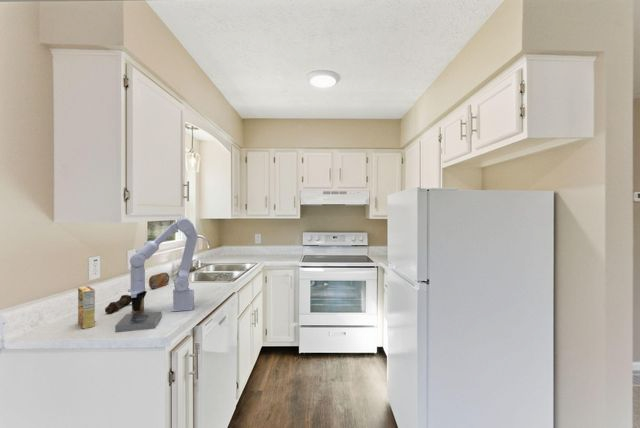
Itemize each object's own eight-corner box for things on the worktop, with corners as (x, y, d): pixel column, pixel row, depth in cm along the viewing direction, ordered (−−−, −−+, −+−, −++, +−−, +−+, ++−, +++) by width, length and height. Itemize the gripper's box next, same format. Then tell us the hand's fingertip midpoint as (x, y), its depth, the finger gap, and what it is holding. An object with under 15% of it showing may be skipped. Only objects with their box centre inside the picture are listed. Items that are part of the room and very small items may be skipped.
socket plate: (161, 316, 141) (161, 311, 141) (154, 328, 127) (154, 322, 127) (126, 320, 137) (126, 314, 136) (115, 332, 123) (115, 325, 123)
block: (144, 312, 147) (144, 297, 146) (141, 315, 143) (141, 299, 143) (134, 313, 145) (134, 298, 145) (132, 316, 142) (131, 300, 142)
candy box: (77, 324, 132) (77, 287, 132) (89, 321, 135) (89, 285, 135) (82, 329, 126) (82, 291, 126) (95, 326, 129) (95, 289, 129)
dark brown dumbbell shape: (106, 318, 144) (125, 307, 159) (115, 312, 144) (133, 302, 159) (99, 307, 144) (118, 297, 159) (109, 302, 144) (127, 292, 159)
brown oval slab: (152, 290, 187) (152, 276, 187) (147, 290, 188) (147, 276, 187) (169, 284, 202) (169, 271, 201) (165, 284, 202) (165, 271, 202)
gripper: (132, 277, 150) (132, 305, 150) (122, 283, 136) (123, 315, 136) (148, 276, 152) (149, 304, 152) (141, 282, 138) (141, 313, 138)
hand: (138, 309), depth 144 cm, fingers closed on block, 4 cm apart
